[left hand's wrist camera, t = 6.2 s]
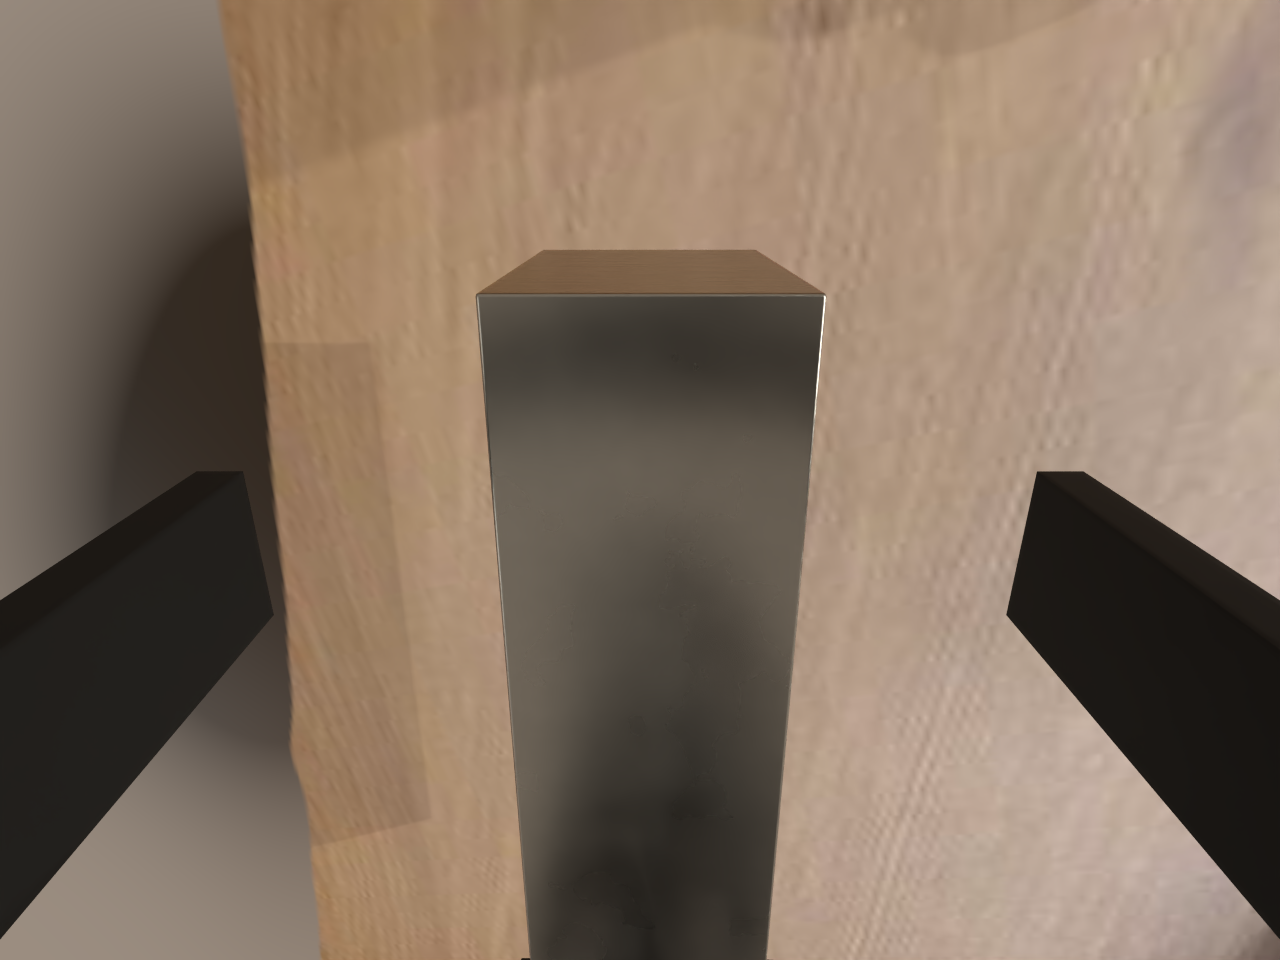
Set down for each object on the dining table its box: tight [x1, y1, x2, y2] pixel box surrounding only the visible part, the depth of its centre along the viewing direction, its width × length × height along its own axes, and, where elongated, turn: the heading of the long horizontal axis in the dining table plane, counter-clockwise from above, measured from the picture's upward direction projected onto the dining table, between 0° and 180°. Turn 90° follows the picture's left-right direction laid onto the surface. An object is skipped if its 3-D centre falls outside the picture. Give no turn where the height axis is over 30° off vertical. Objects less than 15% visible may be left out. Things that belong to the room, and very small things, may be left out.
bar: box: [476, 250, 826, 960], centre depth 20 cm, size 25×5×8 cm, turn 0°
